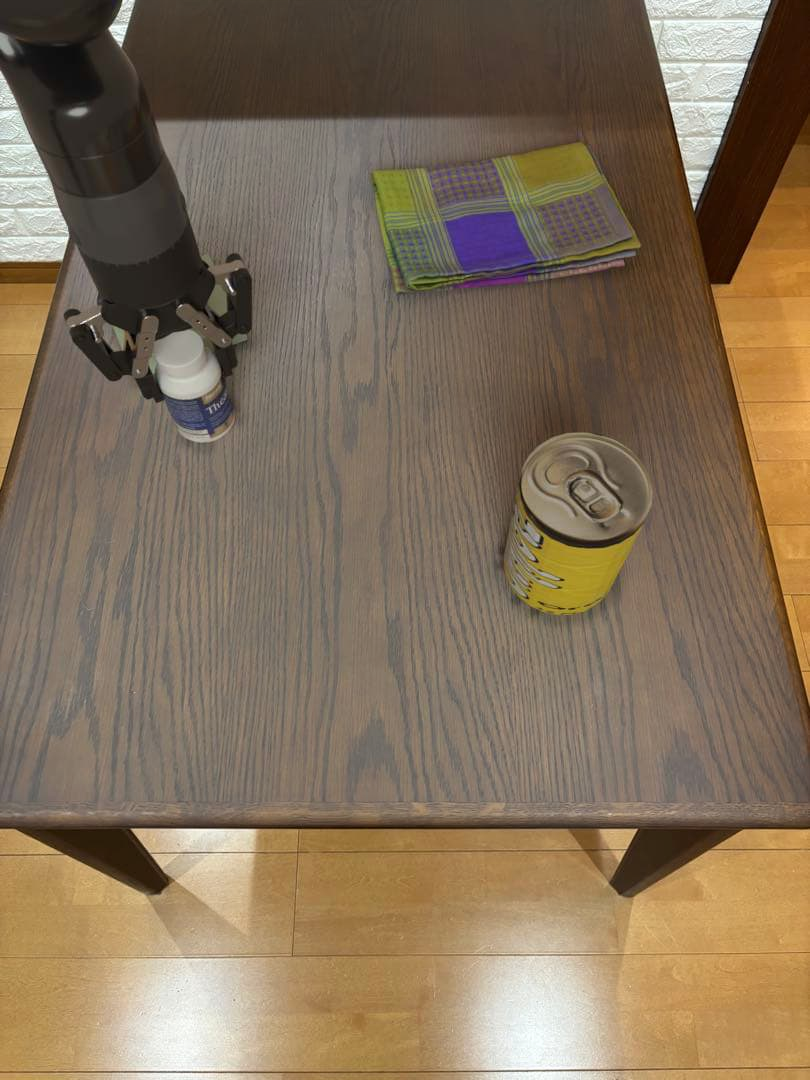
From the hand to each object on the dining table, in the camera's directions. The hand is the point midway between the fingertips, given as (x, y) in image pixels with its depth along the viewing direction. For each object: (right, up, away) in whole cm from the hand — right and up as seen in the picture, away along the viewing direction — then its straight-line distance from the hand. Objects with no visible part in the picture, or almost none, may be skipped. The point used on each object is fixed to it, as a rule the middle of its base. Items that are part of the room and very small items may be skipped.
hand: (191, 381), depth 69 cm
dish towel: (+27, +19, +16) cm, 37 cm away
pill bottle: (0, -3, +5) cm, 6 cm away
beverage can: (+30, -15, -2) cm, 34 cm away
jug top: (-4, +7, +10) cm, 13 cm away
